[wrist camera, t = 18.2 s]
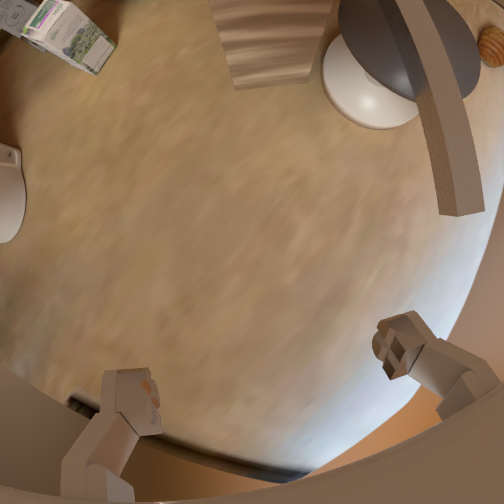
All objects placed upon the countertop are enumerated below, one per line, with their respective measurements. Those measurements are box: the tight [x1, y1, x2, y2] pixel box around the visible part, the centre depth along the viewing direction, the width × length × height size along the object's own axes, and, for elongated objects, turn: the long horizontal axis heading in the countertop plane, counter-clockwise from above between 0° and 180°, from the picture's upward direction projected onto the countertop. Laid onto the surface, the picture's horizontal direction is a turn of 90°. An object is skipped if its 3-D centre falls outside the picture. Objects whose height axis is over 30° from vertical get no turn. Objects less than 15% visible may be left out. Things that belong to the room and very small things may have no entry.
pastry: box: [477, 27, 504, 68], centre depth 30 cm, size 9×7×4 cm
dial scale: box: [321, 0, 481, 130], centre depth 28 cm, size 15×15×15 cm
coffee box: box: [0, 0, 46, 52], centre depth 27 cm, size 9×6×16 cm
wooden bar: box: [377, 0, 485, 217], centre depth 20 cm, size 25×3×3 cm, turn 12°
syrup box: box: [20, 0, 117, 76], centre depth 29 cm, size 6×6×14 cm
